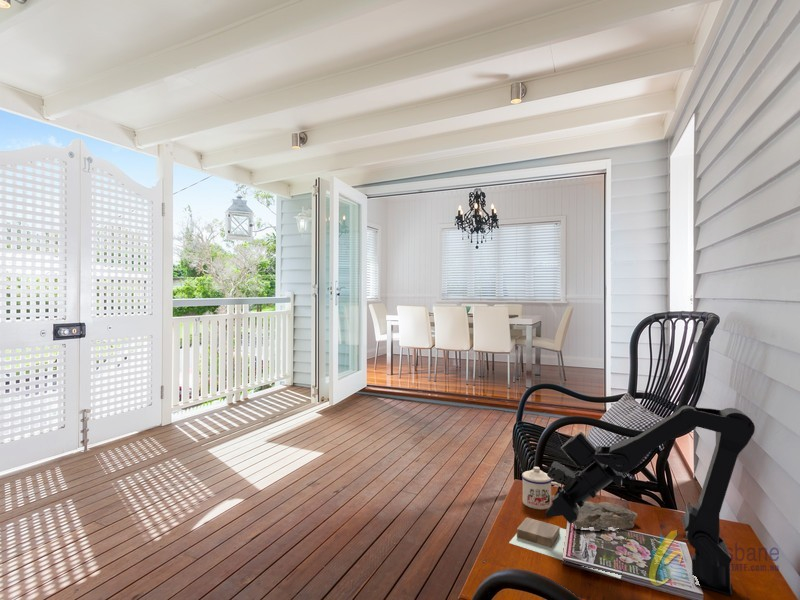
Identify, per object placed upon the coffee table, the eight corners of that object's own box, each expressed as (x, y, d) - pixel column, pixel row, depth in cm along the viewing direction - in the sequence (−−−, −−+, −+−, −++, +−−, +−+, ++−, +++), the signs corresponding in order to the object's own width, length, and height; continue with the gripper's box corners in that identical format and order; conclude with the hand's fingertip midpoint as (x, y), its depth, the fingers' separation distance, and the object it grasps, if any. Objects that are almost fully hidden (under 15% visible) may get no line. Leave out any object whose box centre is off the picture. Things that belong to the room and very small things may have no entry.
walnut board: (559, 526, 114) (526, 517, 119) (551, 539, 108) (516, 528, 113) (559, 534, 114) (526, 525, 119) (551, 547, 108) (516, 537, 113)
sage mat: (629, 549, 108) (629, 547, 108) (620, 581, 95) (620, 578, 95) (528, 521, 123) (528, 519, 123) (508, 545, 110) (508, 542, 110)
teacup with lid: (525, 510, 130) (525, 472, 130) (519, 498, 139) (519, 462, 139) (565, 512, 129) (565, 473, 129) (556, 499, 138) (556, 463, 138)
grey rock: (624, 513, 129) (558, 510, 130) (625, 497, 129) (558, 494, 130) (649, 538, 115) (574, 534, 116) (649, 520, 115) (575, 516, 116)
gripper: (571, 445, 118) (532, 477, 123) (560, 464, 102) (515, 501, 107) (603, 478, 114) (561, 511, 119) (597, 505, 98) (548, 541, 103)
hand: (546, 514), depth 112 cm, fingers closed
